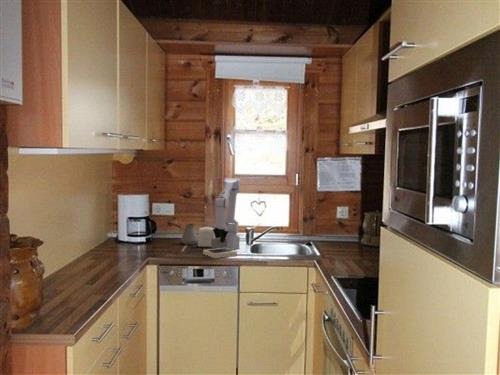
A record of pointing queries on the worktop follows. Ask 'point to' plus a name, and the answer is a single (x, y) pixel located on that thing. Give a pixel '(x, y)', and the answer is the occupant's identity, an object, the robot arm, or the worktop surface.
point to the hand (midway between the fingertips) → (220, 241)
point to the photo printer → (205, 236)
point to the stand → (220, 252)
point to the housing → (218, 243)
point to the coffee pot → (188, 234)
